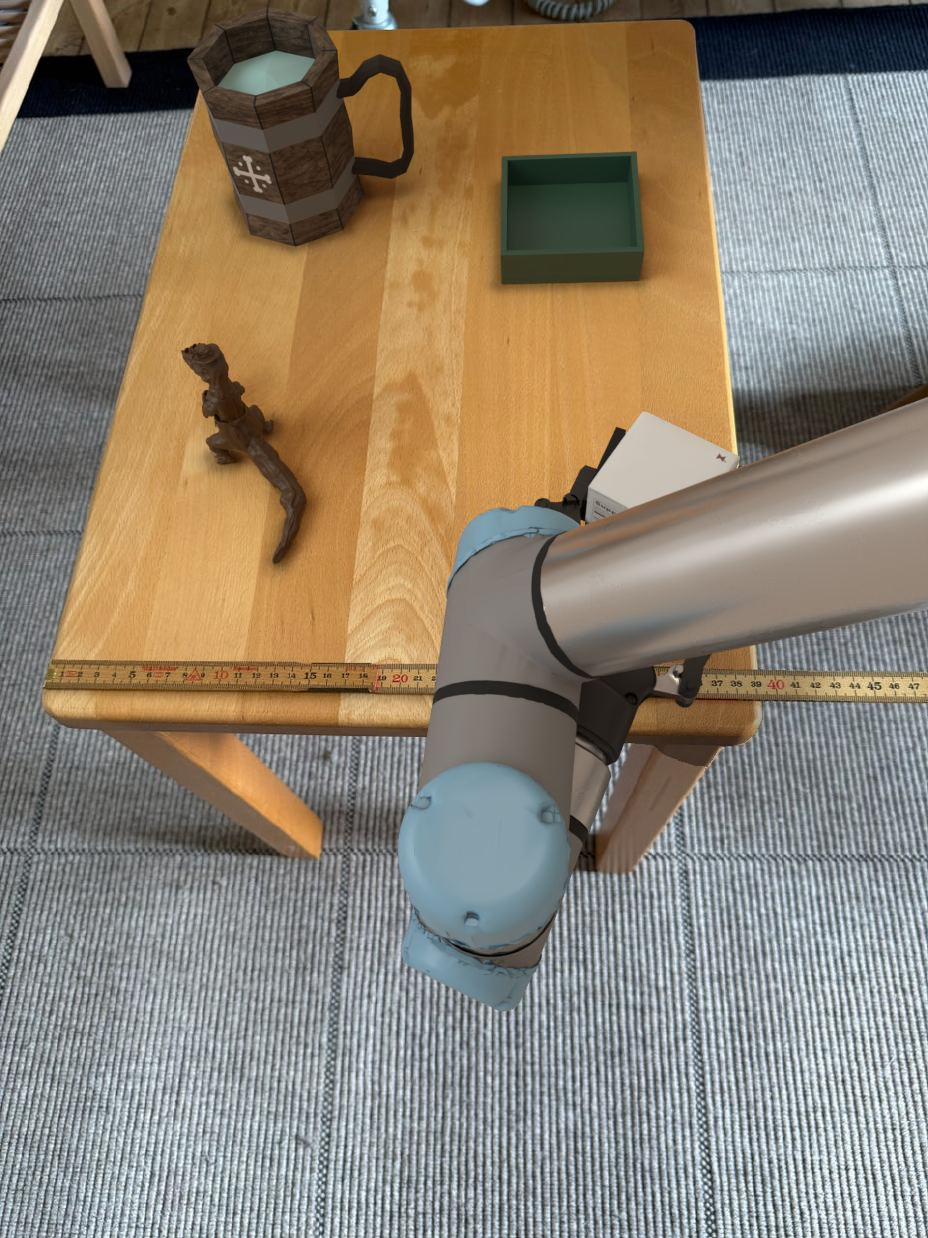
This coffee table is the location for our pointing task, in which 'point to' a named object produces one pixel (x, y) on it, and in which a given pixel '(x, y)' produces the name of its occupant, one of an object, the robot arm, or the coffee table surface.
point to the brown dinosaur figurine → (244, 433)
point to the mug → (290, 122)
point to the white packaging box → (653, 466)
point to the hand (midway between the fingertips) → (678, 458)
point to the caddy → (571, 218)
